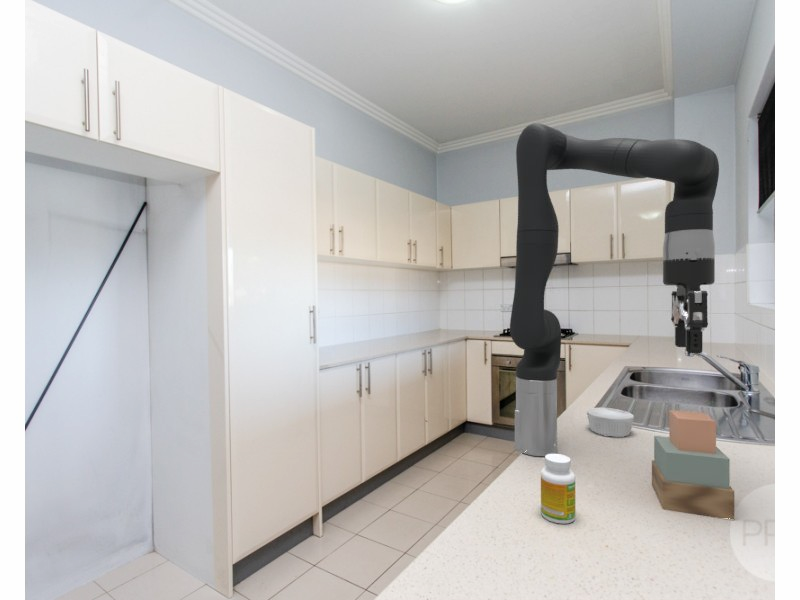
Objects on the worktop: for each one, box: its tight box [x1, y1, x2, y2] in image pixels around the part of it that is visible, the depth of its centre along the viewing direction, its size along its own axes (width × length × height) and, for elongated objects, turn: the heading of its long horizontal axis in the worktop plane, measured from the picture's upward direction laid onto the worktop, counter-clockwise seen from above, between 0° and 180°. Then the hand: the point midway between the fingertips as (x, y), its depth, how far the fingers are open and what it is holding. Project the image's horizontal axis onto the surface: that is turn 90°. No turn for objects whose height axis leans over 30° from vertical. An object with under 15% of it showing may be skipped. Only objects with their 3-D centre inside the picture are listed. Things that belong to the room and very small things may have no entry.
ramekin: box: [586, 407, 635, 438], centre depth 113 cm, size 11×11×5 cm
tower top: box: [653, 435, 731, 489], centre depth 75 cm, size 9×9×5 cm
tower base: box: [651, 459, 735, 520], centre depth 75 cm, size 10×10×5 cm
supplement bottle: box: [540, 453, 576, 525], centre depth 70 cm, size 5×5×10 cm
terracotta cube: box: [668, 409, 717, 454], centre depth 75 cm, size 6×6×6 cm
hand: (687, 349), depth 74 cm, fingers open, 8 cm apart
